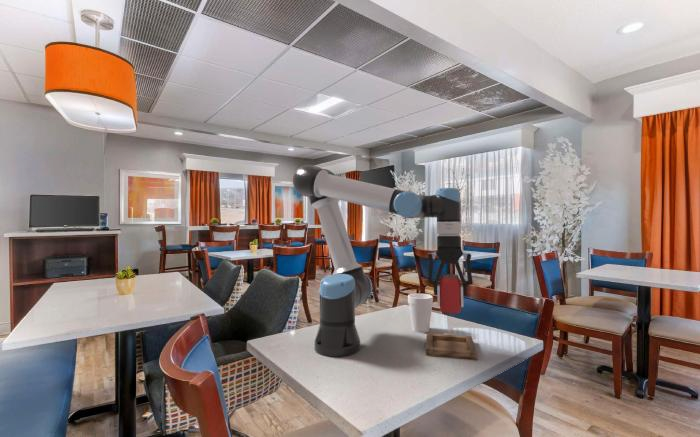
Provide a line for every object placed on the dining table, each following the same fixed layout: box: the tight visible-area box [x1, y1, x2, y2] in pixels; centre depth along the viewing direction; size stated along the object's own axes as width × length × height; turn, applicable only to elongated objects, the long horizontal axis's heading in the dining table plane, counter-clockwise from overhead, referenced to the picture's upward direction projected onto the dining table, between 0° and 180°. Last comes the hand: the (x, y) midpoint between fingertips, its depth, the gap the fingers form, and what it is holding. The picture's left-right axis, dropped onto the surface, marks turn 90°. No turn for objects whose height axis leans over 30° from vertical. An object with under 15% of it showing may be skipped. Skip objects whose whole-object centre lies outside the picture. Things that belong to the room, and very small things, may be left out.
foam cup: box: [407, 293, 434, 333], centre depth 126 cm, size 10×9×13 cm
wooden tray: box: [425, 332, 478, 361], centre depth 107 cm, size 15×17×2 cm
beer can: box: [438, 273, 462, 315], centre depth 107 cm, size 7×7×12 cm
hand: (450, 305), depth 107 cm, fingers closed on beer can, 7 cm apart
